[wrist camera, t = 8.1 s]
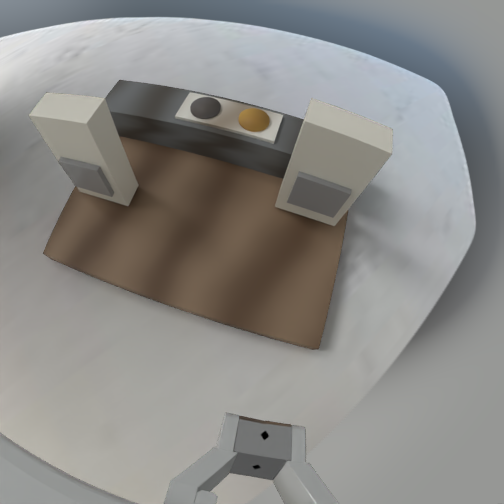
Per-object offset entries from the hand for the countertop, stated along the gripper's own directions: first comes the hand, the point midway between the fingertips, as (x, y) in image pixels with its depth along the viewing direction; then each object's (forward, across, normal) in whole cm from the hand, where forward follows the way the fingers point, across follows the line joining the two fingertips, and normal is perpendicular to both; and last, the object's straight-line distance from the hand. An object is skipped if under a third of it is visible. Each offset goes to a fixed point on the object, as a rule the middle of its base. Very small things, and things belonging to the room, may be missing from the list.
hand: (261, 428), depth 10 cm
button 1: (+18, -1, -4) cm, 18 cm away
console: (+18, +7, -2) cm, 19 cm away
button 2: (+15, +15, -2) cm, 21 cm away
